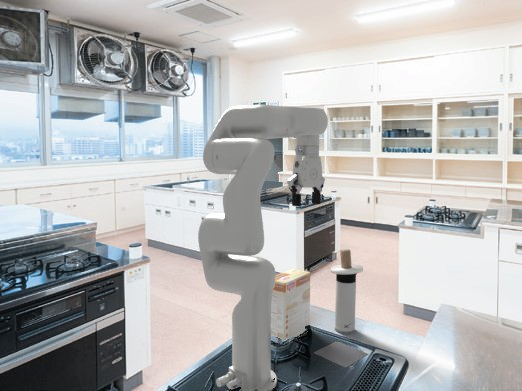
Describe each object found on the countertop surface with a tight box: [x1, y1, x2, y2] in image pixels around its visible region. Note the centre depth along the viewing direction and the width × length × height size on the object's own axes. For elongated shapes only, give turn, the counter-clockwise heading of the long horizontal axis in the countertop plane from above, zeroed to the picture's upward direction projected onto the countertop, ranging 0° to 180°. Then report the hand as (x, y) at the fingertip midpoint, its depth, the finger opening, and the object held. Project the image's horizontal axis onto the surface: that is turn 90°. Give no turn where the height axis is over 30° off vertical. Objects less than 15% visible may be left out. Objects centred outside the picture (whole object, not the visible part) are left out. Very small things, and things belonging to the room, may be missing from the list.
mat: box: [313, 340, 369, 368], centre depth 114 cm, size 11×11×1 cm
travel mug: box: [334, 273, 358, 335], centre depth 128 cm, size 6×7×20 cm
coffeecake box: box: [271, 268, 311, 340], centre depth 125 cm, size 15×7×20 cm, turn 142°
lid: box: [330, 249, 364, 275], centre depth 127 cm, size 10×10×6 cm
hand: (306, 205), depth 130 cm, fingers open, 9 cm apart
